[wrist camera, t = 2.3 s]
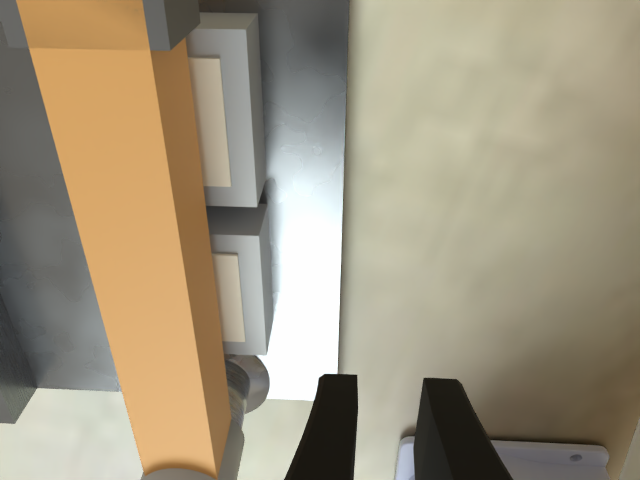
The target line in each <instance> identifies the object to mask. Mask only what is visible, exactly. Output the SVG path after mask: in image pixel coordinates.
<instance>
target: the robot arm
mask: <svg viewBox="0 0 640 480" xmlns="http://www.w3.org/2000/svg"><path fill="white" fill-rule="evenodd" d="M357 416H358V387H357V375H348V374H323V375H322V376H320V377H319V380H318V386H317V391H316V395H315V399H314V403H313V406H312V410H311V413H310V416H309V419H308V422H307V425H306V427H305V430H304V433H303V436H302V438H301V441H300V443H299V446H298V448H297V450H296V453H295V455H294V458H293V460H292V463H291V465H290V467H289V470H288V472H287V474H286V477H285V479H284V480H354V464H355V448H356V432H357ZM608 460H609V454H608V452H607V450H606V448H605V447H603V446H599V445H581V444H560V443H539V442H518V441H498V440H490V439H489V437H488V435H487V434H486V432H485V430H484V428H483V426H482V424H481V423H480V421H479V419H478V417H477V415H476V413H475V411H474V409H473V407H472V405H471V403H470V401H469V399H468V397H467V395H466V393H465V390H464V388H463V386H462V384H461V383H460V382H459V381H458V380H457V379H440V378H424V380H423V386H422V393H421V399H420V406H419V413H418V419H417V426H416V432H415V437H414V436H409V437H405V438H403V439H402V440H401V441H400V443H399V450H398V458H397V466H396V473H395V480H610V477H609V475H608V473H607V470H606V468H605V466H606V464H607V462H608Z"/></svg>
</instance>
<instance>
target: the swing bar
mask: <svg viewBox="0 0 640 480" xmlns="http://www.w3.org/2000/svg"><path fill="white" fill-rule="evenodd" d="M0 18H1V22H2V25H3V29H4V32H5V36H6V39H7V42H8V46H9V48H29V50H30V54H31V57H32V61H33V65H34V68H35V72H36V76H37V80H38V83H39V87H40V91H41V94H42V98H43V102H44V105H45V109H46V113H47V116H48V120H49V124H50V128H51V131H52V135H53V139H54V142H55V146H56V150H57V153H58V157H59V161H60V164H61V168H62V172H63V176H64V179H65V183H66V187H67V190H68V194H69V198H70V201H71V205H72V209H73V212H74V216H75V220H76V224H77V227H78V231H79V235H80V238H81V242H82V246H83V249H84V253H85V257H86V260H87V264H88V268H89V272H90V275H91V279H92V283H93V286H94V290H95V294H96V297H97V301H98V305H99V308H100V312H101V316H102V320H103V323H104V327H105V331H106V334H107V338H108V342H109V345H110V349H111V353H112V357H113V360H114V364H115V368H116V371H117V375H118V379H119V382H120V386H121V390H122V393H123V397H124V401H125V405H126V408H127V412H128V416H129V419H130V423H131V427H132V430H133V434H134V438H135V441H136V445H137V449H138V453H139V456H140V460H141V464H142V467H143V471H144V472H143V475H142V477H141V480H237V476H238V471H239V466H240V461H241V456H242V451H243V446H244V434H243V431H242V429H241V428H240V426H239V425H238V424H237V423H236V422H235V421H234V420H233V419H231V410H230V402H229V394H228V386H227V377H226V369H225V361H224V353H223V344H222V336H221V328H220V320H219V311H218V303H217V295H216V287H215V278H214V270H213V262H212V254H211V245H210V237H209V229H208V221H207V212H206V204H205V196H204V188H203V179H202V171H201V163H200V155H199V146H198V138H197V130H196V122H195V113H194V105H193V97H192V89H191V80H190V72H189V64H188V56H187V47H186V39H185V37H186V36H187V35H188V34H189V33H190V32H191V31H193V30H194V29H195V28H196V27H197V26H198V25H199V24H200V23H201V22H200V12H199V3H198V0H0Z"/></svg>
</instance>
